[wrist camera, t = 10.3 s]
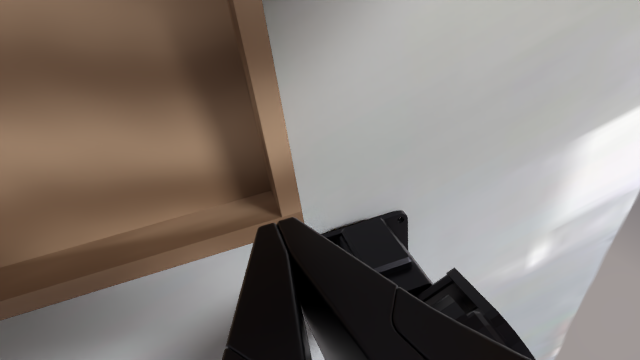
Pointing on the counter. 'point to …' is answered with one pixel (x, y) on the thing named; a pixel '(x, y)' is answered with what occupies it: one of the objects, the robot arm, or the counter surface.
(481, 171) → the counter surface
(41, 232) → the walnut box
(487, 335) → the robot arm
